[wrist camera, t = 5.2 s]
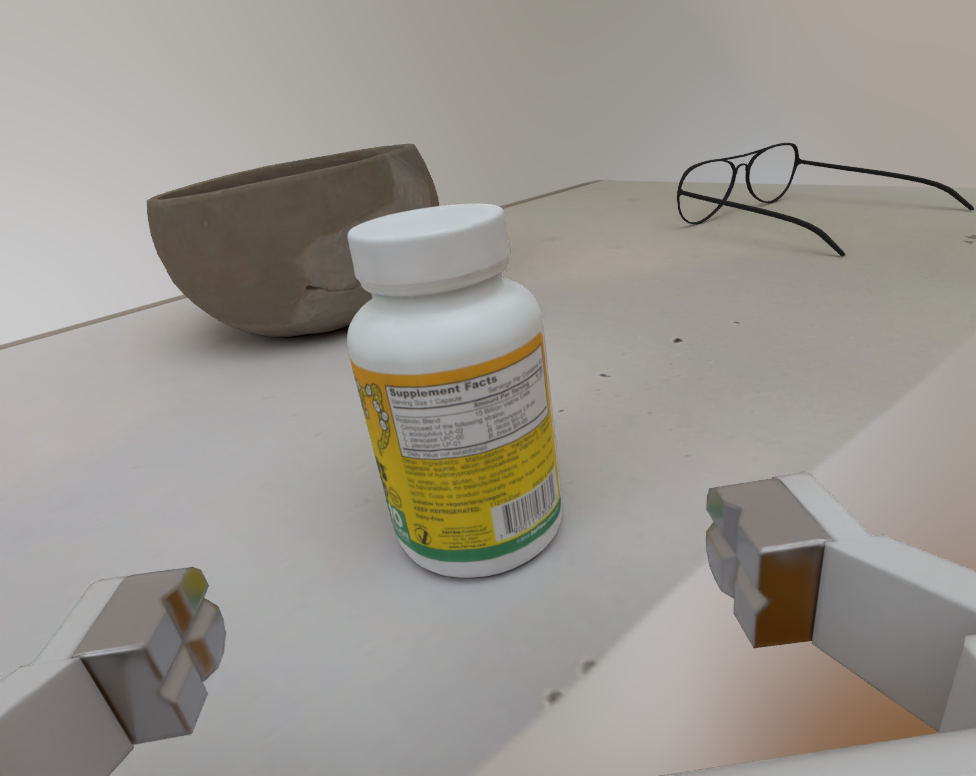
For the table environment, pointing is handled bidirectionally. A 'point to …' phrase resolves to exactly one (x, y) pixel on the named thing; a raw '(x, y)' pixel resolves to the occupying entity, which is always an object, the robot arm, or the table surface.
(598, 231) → the table surface
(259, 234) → the bowl
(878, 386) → the table surface
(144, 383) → the table surface
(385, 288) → the supplement bottle
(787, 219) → the glasses
